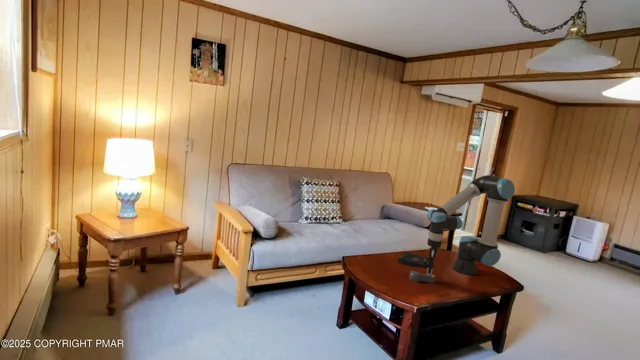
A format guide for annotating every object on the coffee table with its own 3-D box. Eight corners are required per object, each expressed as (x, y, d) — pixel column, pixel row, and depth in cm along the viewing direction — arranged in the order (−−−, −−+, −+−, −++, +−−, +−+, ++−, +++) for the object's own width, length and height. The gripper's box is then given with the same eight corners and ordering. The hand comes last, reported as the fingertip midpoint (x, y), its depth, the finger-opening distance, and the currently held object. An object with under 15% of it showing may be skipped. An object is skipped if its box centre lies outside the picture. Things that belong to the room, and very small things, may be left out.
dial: (410, 281, 202) (411, 274, 201) (408, 276, 208) (409, 270, 208) (435, 284, 201) (436, 277, 201) (432, 280, 207) (433, 273, 207)
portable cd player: (422, 270, 226) (423, 265, 225) (397, 263, 235) (398, 257, 234) (429, 264, 240) (430, 258, 239) (405, 257, 249) (406, 251, 248)
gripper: (428, 235, 210) (422, 272, 213) (427, 240, 198) (420, 280, 201) (442, 237, 207) (435, 275, 211) (441, 243, 195) (434, 283, 199)
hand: (428, 277), depth 206 cm, fingers closed
